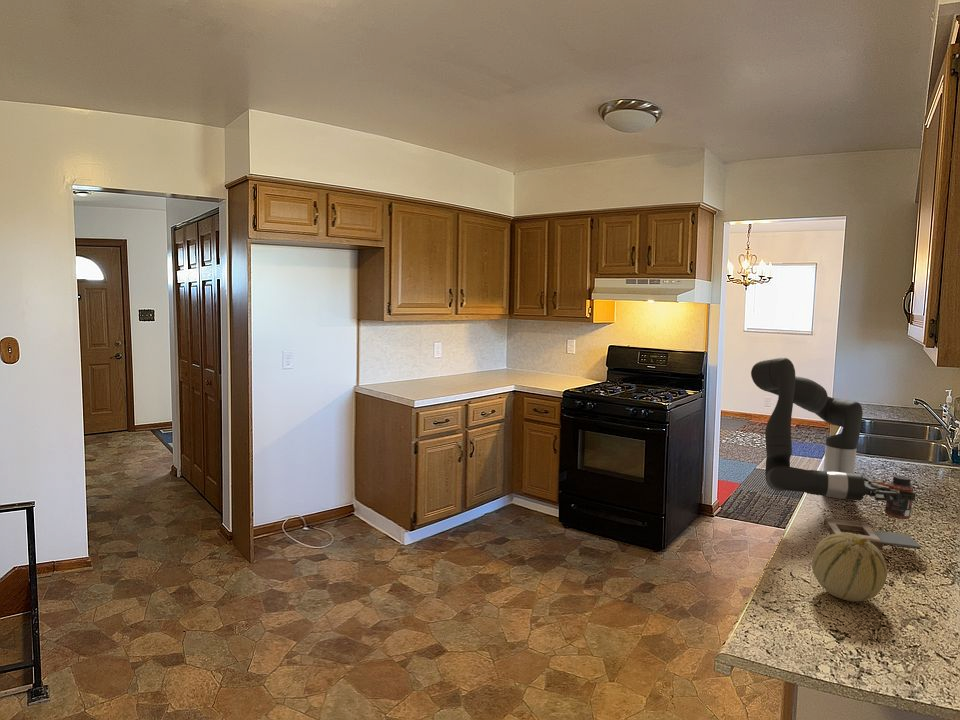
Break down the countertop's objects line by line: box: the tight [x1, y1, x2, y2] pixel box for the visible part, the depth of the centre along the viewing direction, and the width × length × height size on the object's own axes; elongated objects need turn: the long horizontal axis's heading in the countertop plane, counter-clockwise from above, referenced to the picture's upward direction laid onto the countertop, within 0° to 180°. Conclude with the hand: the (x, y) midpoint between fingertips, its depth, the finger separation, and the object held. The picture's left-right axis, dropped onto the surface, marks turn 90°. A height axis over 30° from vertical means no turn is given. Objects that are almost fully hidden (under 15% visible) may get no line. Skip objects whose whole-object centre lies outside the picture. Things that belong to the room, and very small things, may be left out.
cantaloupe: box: [811, 532, 888, 603], centre depth 142 cm, size 15×15×15 cm
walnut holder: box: [823, 517, 884, 549], centre depth 180 cm, size 16×11×2 cm
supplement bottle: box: [884, 475, 914, 520], centre depth 176 cm, size 6×6×11 cm
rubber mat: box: [873, 530, 921, 549], centre depth 177 cm, size 9×9×1 cm
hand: (910, 493), depth 175 cm, fingers closed on supplement bottle, 6 cm apart
